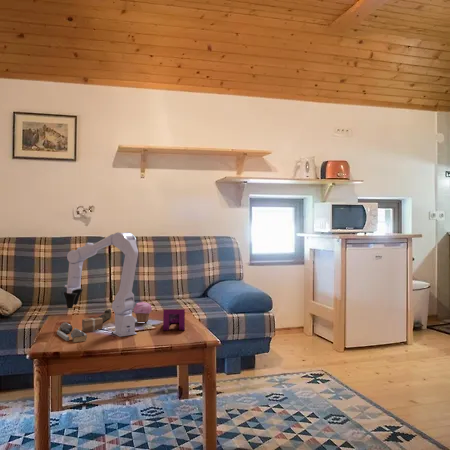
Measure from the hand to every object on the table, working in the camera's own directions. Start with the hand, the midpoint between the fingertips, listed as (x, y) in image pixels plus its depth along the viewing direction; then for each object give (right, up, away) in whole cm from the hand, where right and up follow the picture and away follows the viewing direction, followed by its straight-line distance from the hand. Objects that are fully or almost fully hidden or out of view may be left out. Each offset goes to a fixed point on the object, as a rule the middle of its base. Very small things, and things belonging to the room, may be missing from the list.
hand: (72, 306), depth 207 cm
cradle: (+4, -10, -13) cm, 17 cm away
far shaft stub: (-1, -10, -6) cm, 12 cm away
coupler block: (+10, -11, -2) cm, 14 cm away
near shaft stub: (+9, -11, -19) cm, 24 cm away
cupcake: (+30, -11, +14) cm, 34 cm away
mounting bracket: (+46, -11, +4) cm, 47 cm away
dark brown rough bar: (+9, -11, +18) cm, 23 cm away
